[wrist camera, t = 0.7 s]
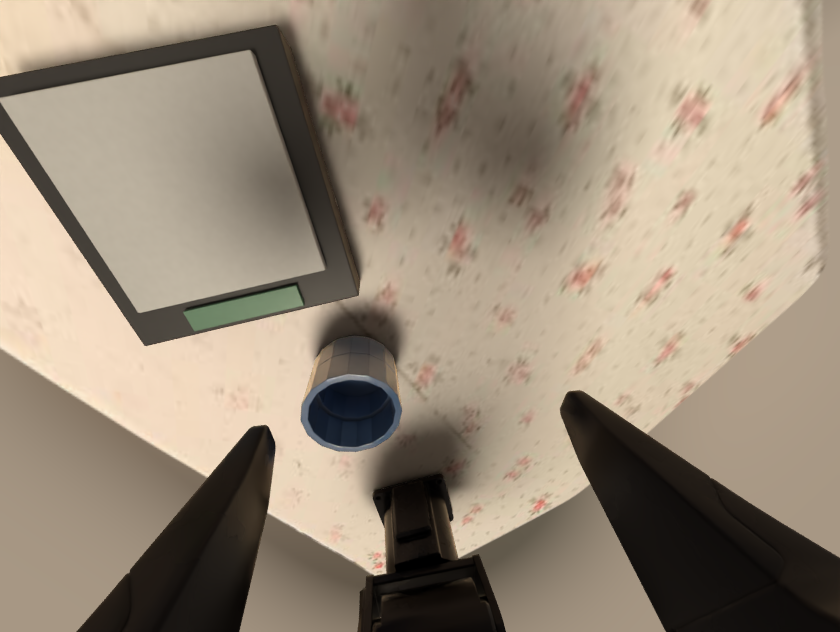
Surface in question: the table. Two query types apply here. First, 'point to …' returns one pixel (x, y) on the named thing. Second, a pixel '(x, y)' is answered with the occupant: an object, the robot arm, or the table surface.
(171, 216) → the kitchen scale
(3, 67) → the table surface
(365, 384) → the small cup
